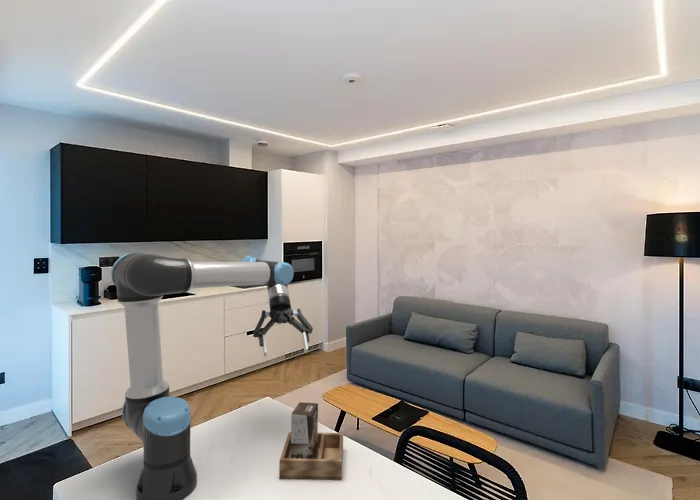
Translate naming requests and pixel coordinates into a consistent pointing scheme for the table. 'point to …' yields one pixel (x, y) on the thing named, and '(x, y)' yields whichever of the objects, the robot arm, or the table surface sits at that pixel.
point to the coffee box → (304, 431)
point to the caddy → (314, 460)
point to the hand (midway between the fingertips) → (286, 352)
